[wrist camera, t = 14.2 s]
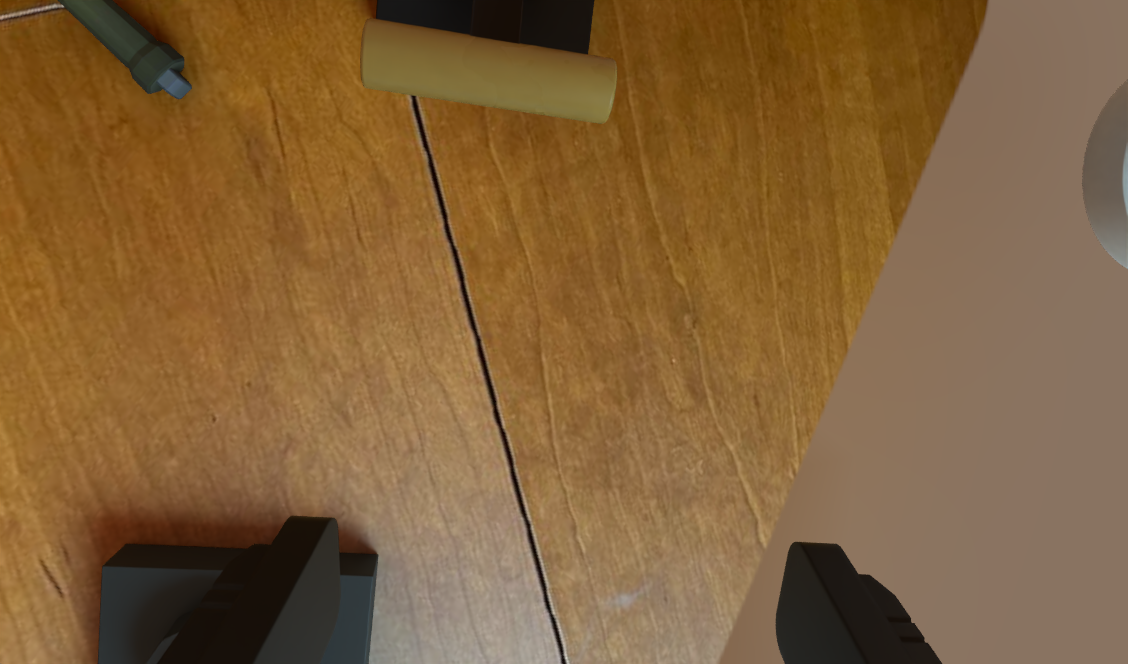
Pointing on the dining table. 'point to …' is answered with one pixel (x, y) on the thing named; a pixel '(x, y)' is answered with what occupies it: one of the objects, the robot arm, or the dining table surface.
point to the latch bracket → (548, 20)
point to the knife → (132, 46)
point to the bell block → (179, 583)
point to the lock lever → (487, 66)
